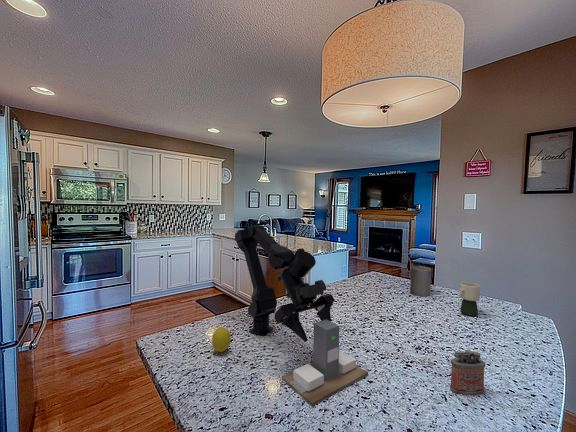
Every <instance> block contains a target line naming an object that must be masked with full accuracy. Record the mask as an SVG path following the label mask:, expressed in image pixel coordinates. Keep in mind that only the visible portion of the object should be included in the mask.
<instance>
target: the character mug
mask: <svg viewBox="0 0 576 432" xmlns="http://www.w3.org/2000/svg"><path fill="white" fill-rule="evenodd" d="M459 283H460V284H459V289H458V290H459V292H458V293H459V295H458V296H459V297H460V298H461V299H462V301H461V304H460V310H459V311H460V313H462V314H465V315H469V316H472V317H473V316H475V317H476V316H478V315H479V312H478V311H479V310H478V308H479V307H478V302H479V301H480V298H481V297H480V296H481V285H480V284H478V283H476V282H472V281H471V282H470V281H461V282H459Z"/></svg>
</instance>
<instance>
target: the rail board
mask: <svg viewBox="0 0 576 432" xmlns="http://www.w3.org/2000/svg"><path fill="white" fill-rule="evenodd" d="M308 364H309V365H311V366H312V367H313V362H312V363H308ZM367 376H369V372H368V371H367V370H365V369H363V368H362V367H360V366H359V365H358V366H357V367H356V368H354V369H352V370H350V371H348V372H346V373H344V374H342V375H340V376H338V377H336V378H334V379H332V380H330V381H328V382H326V383H324V384H322V385H320V386H318V387H316V388H314V389H312V390H311V391H309V392H306V393H304V394H301V393H300V392H299V391H298V390H297V389H295V388H294V387H293V386H292V385H291V384H290V381H293V380H294V379H293V371H291V372H288V373H286V374H283V375H281V380H282V381H283V382H284V381H285V382H286V383H287V384H288V385H289V387H290V388H291V389H292V390H293V391H294V393H296V392H297V393H298V394H299V396H300V398H301V399H303V400H304V401H305V402H306V401H307V402H308V403H307V402H306V403H307V404H308V405H310V406H311V407H314V406H316V405H318V404H320V403H321V402H323V401H325V400H326V399H328V398H329V397H333V395H336V394H337V393H339V392H341V391H342V390H344V389H346V388H348V387H350V386H352V385H354V384H355V383H357V382H359V381H360V380H362V379H364V378H366V377H367ZM285 382H284V383H285ZM286 383H285V384H286ZM288 385H287V386H288ZM297 393H296V394H297ZM298 394H297V395H298Z"/></svg>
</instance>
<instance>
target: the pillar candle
mask: <svg viewBox="0 0 576 432" xmlns="http://www.w3.org/2000/svg"><path fill="white" fill-rule="evenodd" d="M409 285H410V287H409V289H410V290H409V291H410V292H409V293H410V294H411V295H413V296H415V297H420V298H428V296H429V297H430V296H431V290H432V289H431V287H432V268H431V267H427V266H423V265H413V266H411V267H410V284H409Z"/></svg>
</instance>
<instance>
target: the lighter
mask: <svg viewBox="0 0 576 432" xmlns="http://www.w3.org/2000/svg"><path fill="white" fill-rule="evenodd" d="M453 356H454V358H451V359H450V364H451V367H450V368H451V369H450V370H451V371H450V373H451V374H450V379H451V380H450V384H449V390H450V392H451V391H452V392H451V393H453V394H454V393H455V395H457V394H462V395H461V396H468V395H474V396H480V395H481V394H482V395H485V385H484V384H485V383H484V382H485V368H486V362H485V361H484V360H482V359H481V353H480V352H479V351H471V350H470V349H466V350H464V351H463V350H462V351H461V350H459V351H458V350H457V351H454V355H453Z"/></svg>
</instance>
